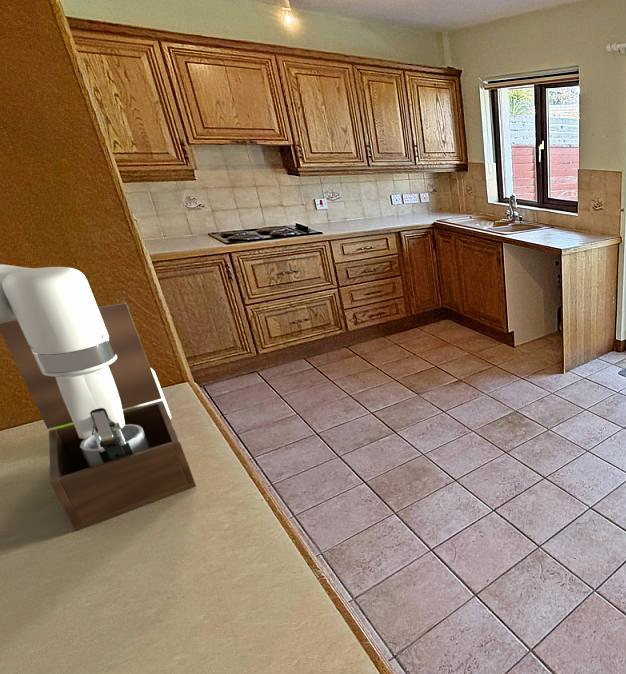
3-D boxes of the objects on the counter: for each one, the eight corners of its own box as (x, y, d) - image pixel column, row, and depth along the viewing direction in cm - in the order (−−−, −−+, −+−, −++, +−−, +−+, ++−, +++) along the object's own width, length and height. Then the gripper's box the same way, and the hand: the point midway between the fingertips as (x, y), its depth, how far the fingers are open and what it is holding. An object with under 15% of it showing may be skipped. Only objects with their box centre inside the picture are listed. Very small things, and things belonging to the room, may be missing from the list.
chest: (196, 486, 77) (179, 441, 73) (75, 531, 67) (50, 482, 64) (177, 441, 87) (162, 400, 83) (71, 475, 78) (48, 430, 74)
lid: (126, 303, 77) (123, 297, 80) (-4, 323, 67) (-1, 315, 71) (162, 398, 83) (158, 389, 86) (47, 429, 74) (48, 417, 77)
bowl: (135, 471, 72) (125, 447, 70) (80, 477, 70) (68, 453, 69) (160, 445, 78) (151, 422, 76) (109, 450, 76) (99, 426, 74)
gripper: (37, 343, 70) (83, 442, 77) (37, 386, 59) (90, 497, 66) (108, 330, 75) (144, 425, 82) (119, 368, 64) (160, 473, 71)
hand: (120, 456), depth 74 cm, fingers closed on bowl, 7 cm apart
